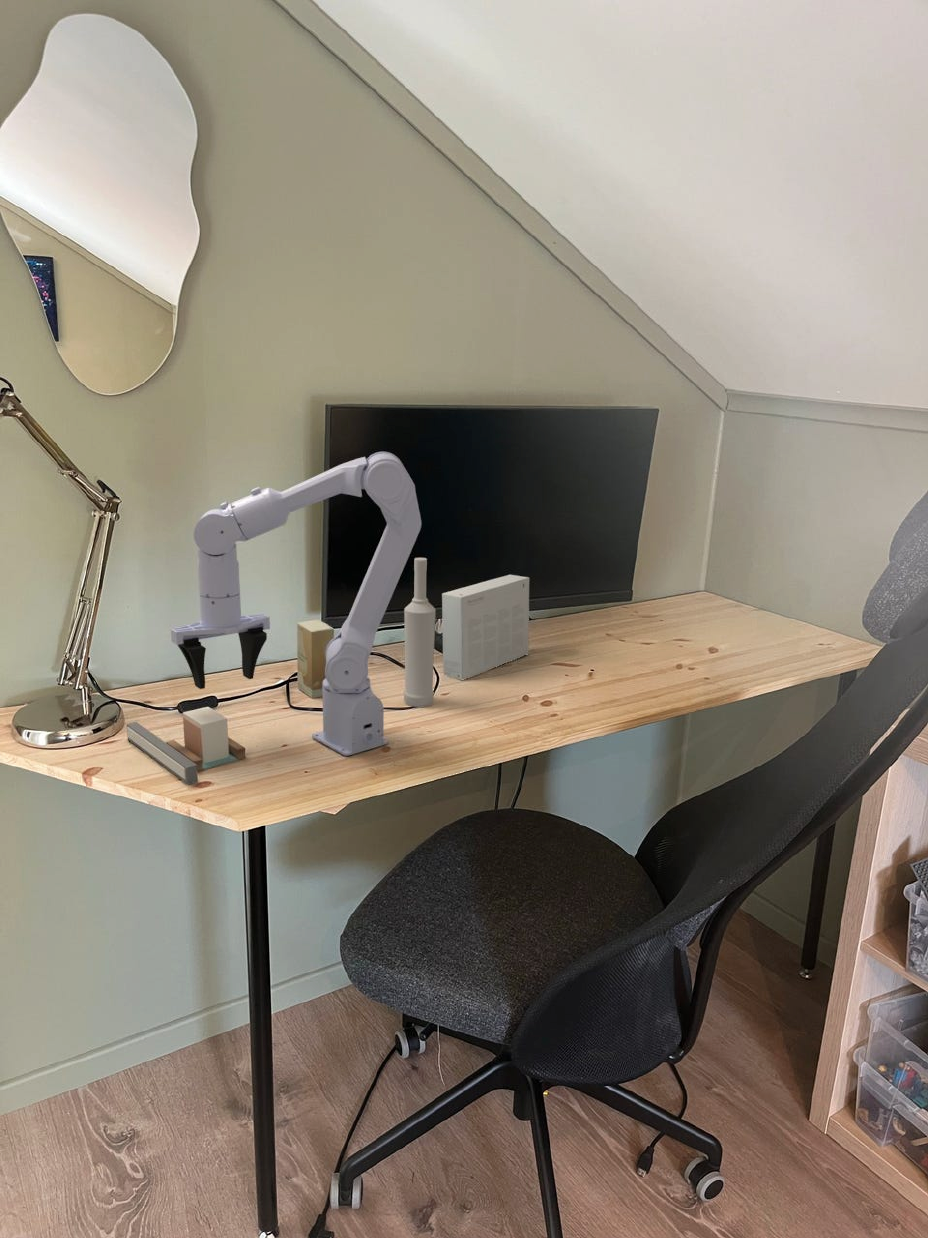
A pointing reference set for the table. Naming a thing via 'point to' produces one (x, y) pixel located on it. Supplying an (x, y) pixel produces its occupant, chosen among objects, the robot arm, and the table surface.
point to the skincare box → (312, 655)
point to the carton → (206, 734)
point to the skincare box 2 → (485, 625)
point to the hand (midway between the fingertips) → (224, 682)
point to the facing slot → (234, 754)
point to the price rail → (162, 753)
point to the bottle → (419, 642)
